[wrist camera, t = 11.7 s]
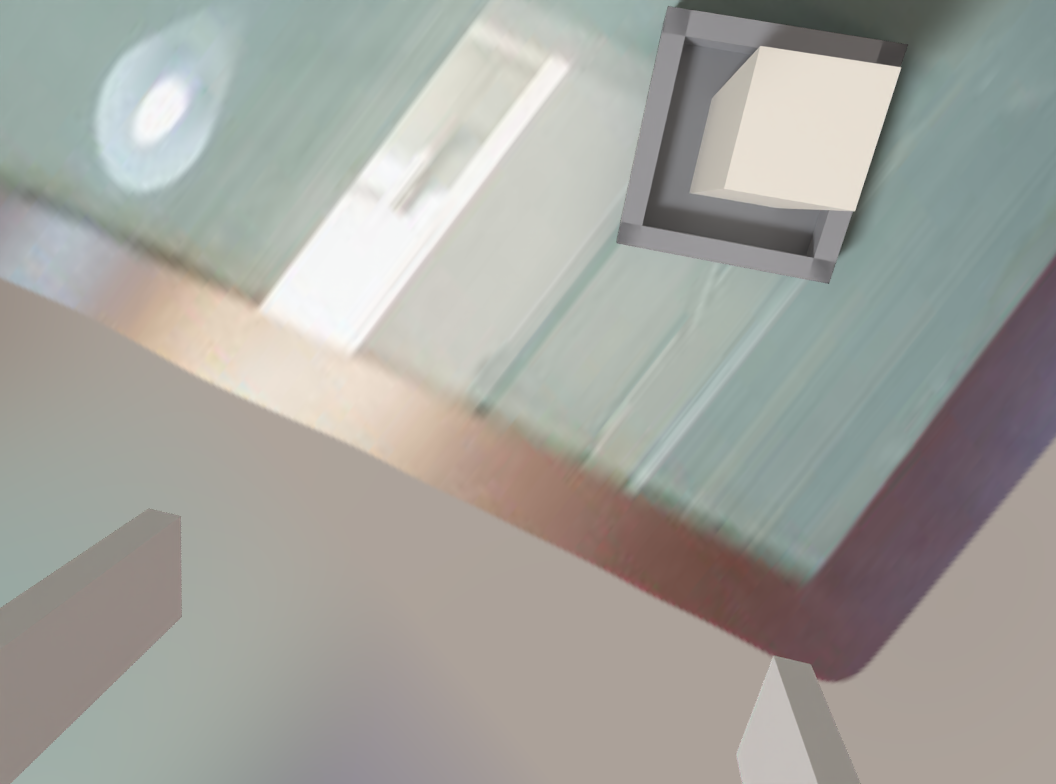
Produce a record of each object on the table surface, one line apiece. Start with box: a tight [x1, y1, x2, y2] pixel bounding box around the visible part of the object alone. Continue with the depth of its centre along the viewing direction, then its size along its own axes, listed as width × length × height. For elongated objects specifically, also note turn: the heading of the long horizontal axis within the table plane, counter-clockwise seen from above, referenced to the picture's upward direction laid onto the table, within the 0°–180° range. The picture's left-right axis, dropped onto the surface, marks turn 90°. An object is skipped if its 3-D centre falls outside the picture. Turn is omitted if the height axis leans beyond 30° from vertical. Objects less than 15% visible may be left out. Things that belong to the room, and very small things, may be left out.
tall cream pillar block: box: [689, 46, 901, 211], centre depth 29 cm, size 5×5×12 cm
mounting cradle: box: [617, 6, 908, 284], centre depth 34 cm, size 12×12×3 cm
